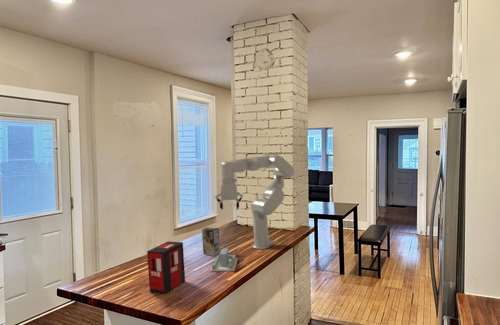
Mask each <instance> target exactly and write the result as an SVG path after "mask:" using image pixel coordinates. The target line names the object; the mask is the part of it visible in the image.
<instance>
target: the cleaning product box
mask: <svg viewBox="0 0 500 325" xmlns="http://www.w3.org/2000/svg"><path fill="white" fill-rule="evenodd" d="M146 252H147V253H146V254H147V267H148V281H149V282H148V283H149V293H150V292H152V293H151V294H154V293H160V294H159V295H161V294H167V293H168V292H169V293H171V292H172V291H174V290H175V289H177V288H178V287H179V286H180V285H182V284H183V283H185V282H186V273H185V258H184V256H185V254H184V242H183V241H182V242H180V241H169V240H168V241H166V242H163V243H162V244H160V245H157V246H155V247H153V248H151V249H149V250H147V251H146ZM174 288H175V289H174ZM173 289H174V290H173ZM171 290H172V291H171ZM170 291H171V292H170ZM169 293H168V294H169ZM168 294H167V295H168Z"/></svg>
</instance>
